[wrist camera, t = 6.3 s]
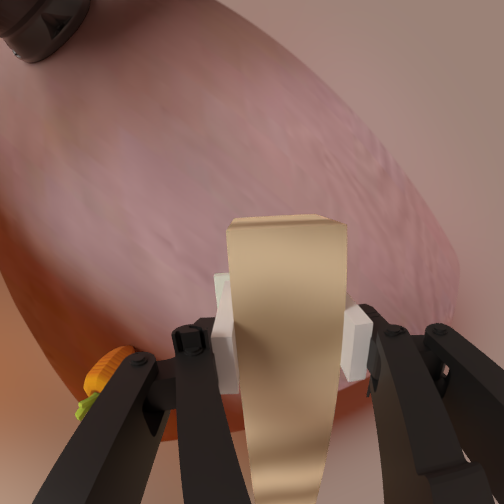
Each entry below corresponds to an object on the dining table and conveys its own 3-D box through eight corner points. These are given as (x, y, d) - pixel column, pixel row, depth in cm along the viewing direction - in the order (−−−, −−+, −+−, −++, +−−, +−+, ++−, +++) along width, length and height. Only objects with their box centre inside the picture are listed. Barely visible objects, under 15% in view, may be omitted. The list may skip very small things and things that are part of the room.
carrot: (147, 335, 35) (101, 408, 20) (149, 364, 36) (111, 439, 21) (114, 328, 35) (59, 393, 20) (117, 357, 36) (71, 425, 21)
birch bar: (234, 218, 16) (226, 231, 10) (314, 214, 16) (346, 224, 10) (257, 478, 20) (258, 523, 15) (303, 474, 20) (311, 518, 15)
